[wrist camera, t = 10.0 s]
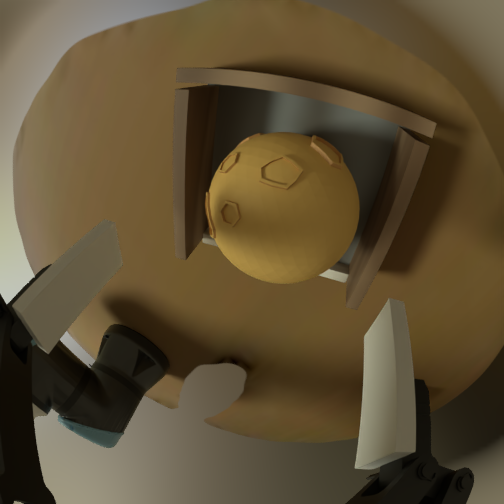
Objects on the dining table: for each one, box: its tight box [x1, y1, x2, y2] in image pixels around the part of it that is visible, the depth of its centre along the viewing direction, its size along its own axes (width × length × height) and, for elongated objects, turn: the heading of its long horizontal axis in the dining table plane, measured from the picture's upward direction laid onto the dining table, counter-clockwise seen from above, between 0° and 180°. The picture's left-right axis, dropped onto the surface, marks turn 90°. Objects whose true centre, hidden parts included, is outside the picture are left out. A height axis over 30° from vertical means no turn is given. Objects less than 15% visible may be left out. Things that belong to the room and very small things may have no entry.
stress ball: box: [205, 132, 360, 284], centre depth 18 cm, size 10×10×10 cm
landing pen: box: [173, 68, 437, 310], centre depth 20 cm, size 16×16×6 cm
